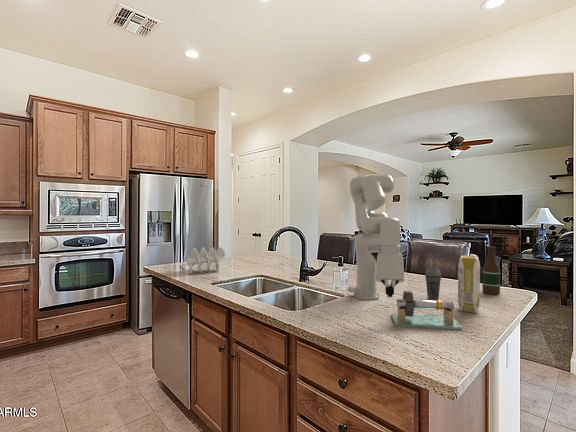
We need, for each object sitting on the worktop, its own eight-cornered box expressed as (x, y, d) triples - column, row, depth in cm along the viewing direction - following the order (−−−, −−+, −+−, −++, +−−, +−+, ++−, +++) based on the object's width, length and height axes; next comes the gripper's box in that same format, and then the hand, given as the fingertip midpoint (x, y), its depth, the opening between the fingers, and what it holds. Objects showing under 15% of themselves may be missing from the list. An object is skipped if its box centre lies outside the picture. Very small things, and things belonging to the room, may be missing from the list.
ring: (406, 318, 120) (406, 294, 120) (402, 311, 129) (402, 288, 129) (413, 319, 119) (413, 295, 119) (409, 311, 128) (409, 289, 128)
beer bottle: (483, 294, 162) (484, 246, 161) (481, 290, 169) (481, 245, 169) (501, 295, 159) (502, 247, 158) (498, 291, 166) (498, 245, 166)
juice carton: (479, 314, 132) (479, 256, 131) (457, 311, 136) (457, 254, 135) (479, 308, 139) (480, 253, 139) (459, 305, 144) (459, 252, 143)
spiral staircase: (186, 278, 222) (222, 273, 233) (190, 271, 207) (228, 266, 219) (183, 253, 228) (217, 249, 239) (186, 245, 213) (223, 241, 225)
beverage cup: (443, 302, 149) (443, 259, 149) (426, 301, 151) (426, 258, 150) (439, 297, 156) (439, 256, 156) (423, 297, 158) (423, 256, 157)
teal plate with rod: (395, 326, 119) (395, 302, 119) (391, 315, 131) (391, 294, 131) (462, 330, 115) (462, 306, 115) (452, 318, 127) (452, 296, 127)
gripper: (370, 250, 122) (370, 298, 123) (411, 251, 120) (411, 300, 120) (369, 248, 130) (369, 293, 130) (408, 248, 127) (408, 294, 127)
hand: (389, 296), depth 125 cm, fingers closed
